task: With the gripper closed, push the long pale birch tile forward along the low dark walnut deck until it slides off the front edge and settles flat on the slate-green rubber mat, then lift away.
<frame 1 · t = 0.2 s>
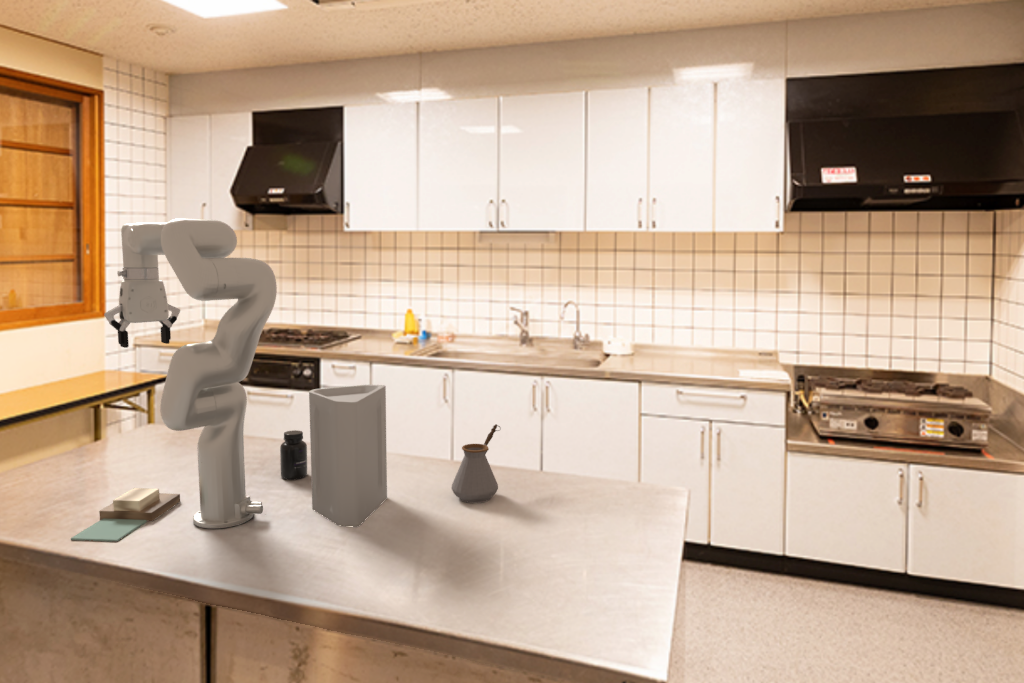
hand: (145, 345, 174), 36 cm above the kitchen island, tool pointing down, fingers open, 9 cm apart
supplement bottle: (294, 476, 189), on the kitchen island
grey triangular vase: (343, 509, 166), on the kitchen island
birch tile: (137, 504, 162), point 2 cm above the kitchen island, touching walnut deck
rubber mat: (110, 530, 152), on the kitchen island
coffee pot: (482, 492, 179), on the kitchen island
walnut deck: (141, 510, 164), on the kitchen island
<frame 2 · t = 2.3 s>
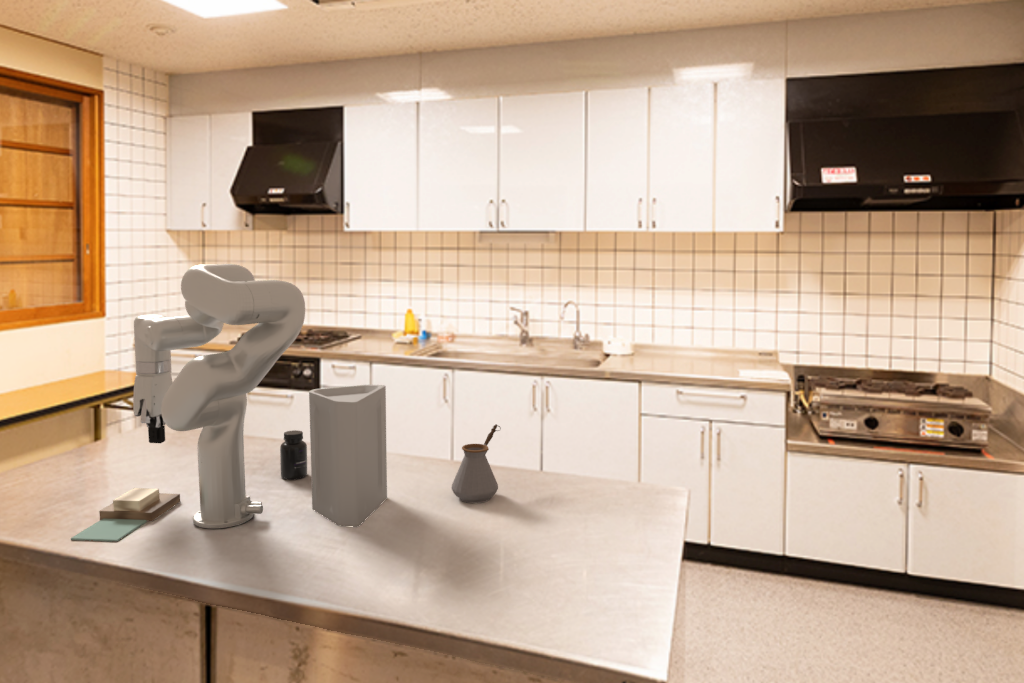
hand: (157, 442, 170), 14 cm above the kitchen island, tool pointing down, fingers closed
nothing on the kitchen island moved.
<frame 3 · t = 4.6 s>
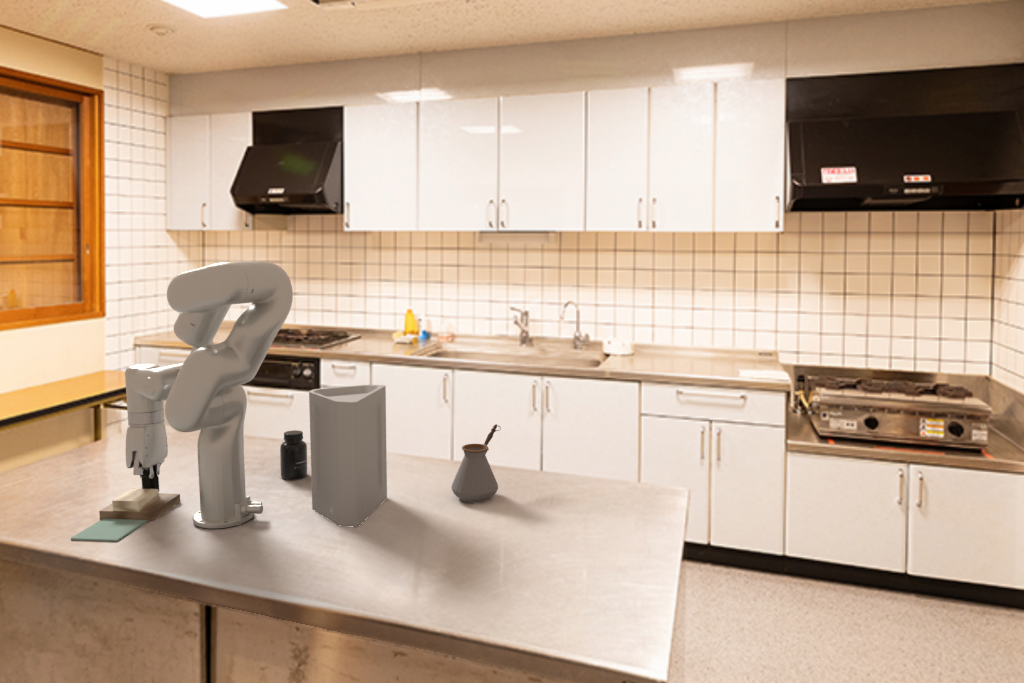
hand: (151, 492, 167), 3 cm above the kitchen island, tool pointing down, fingers closed
birch tile: (136, 504, 162), point 2 cm above the kitchen island, touching gripper
everything else where it was.
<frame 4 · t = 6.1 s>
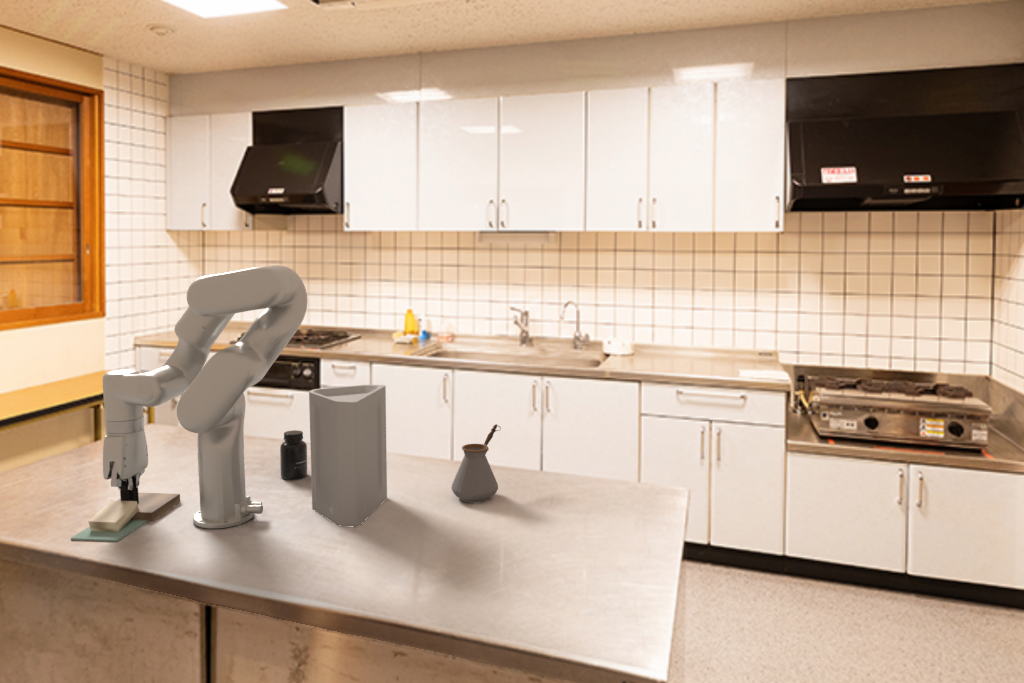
hand: (130, 505, 159), 3 cm above the kitchen island, tool pointing down, fingers closed
birch tile: (115, 520, 154), point 1 cm above the kitchen island, tilted 13°, touching gripper, rubber mat, walnut deck
everything else where it was.
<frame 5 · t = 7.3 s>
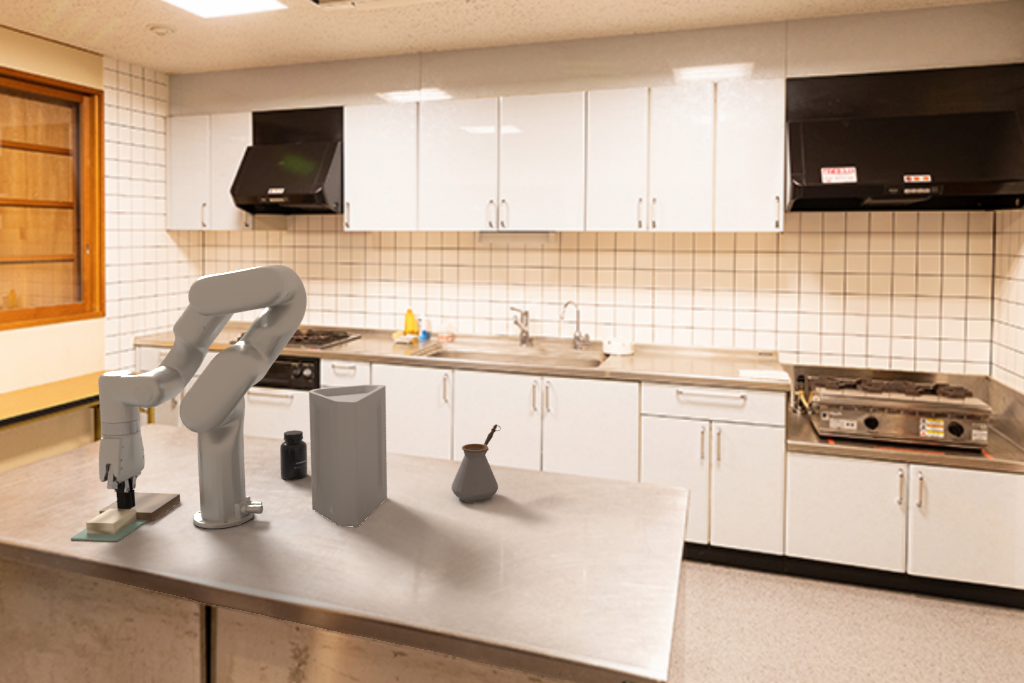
hand: (126, 507, 158), 3 cm above the kitchen island, tool pointing down, fingers closed
birch tile: (112, 526, 153), resting on rubber mat
everything else where it was.
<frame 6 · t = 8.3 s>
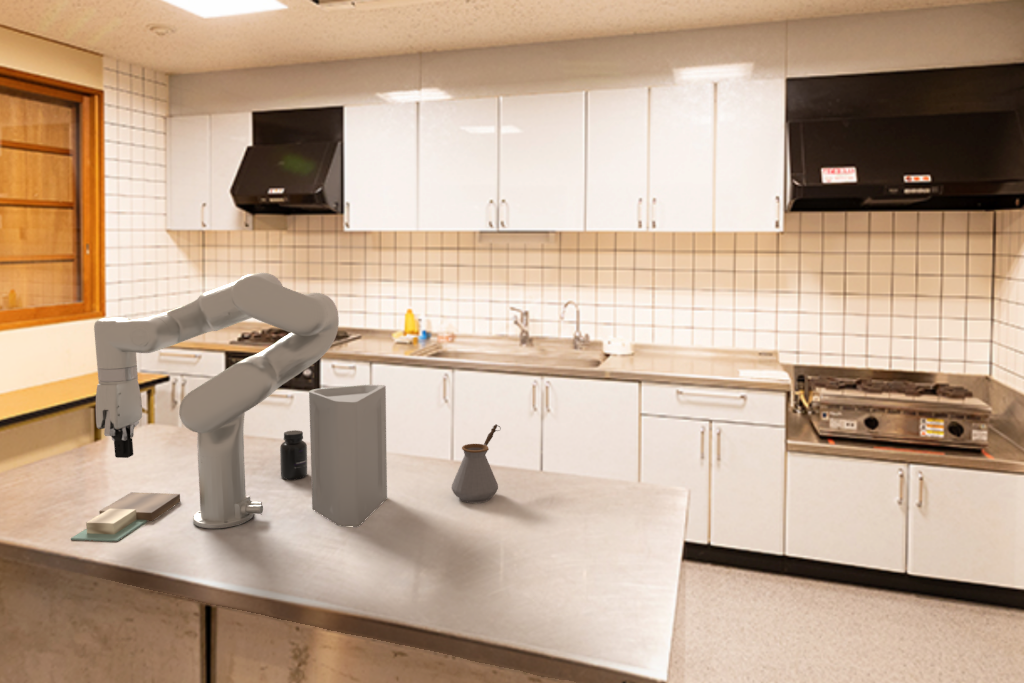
hand: (124, 456, 156), 15 cm above the kitchen island, tool pointing down, fingers closed
nothing on the kitchen island moved.
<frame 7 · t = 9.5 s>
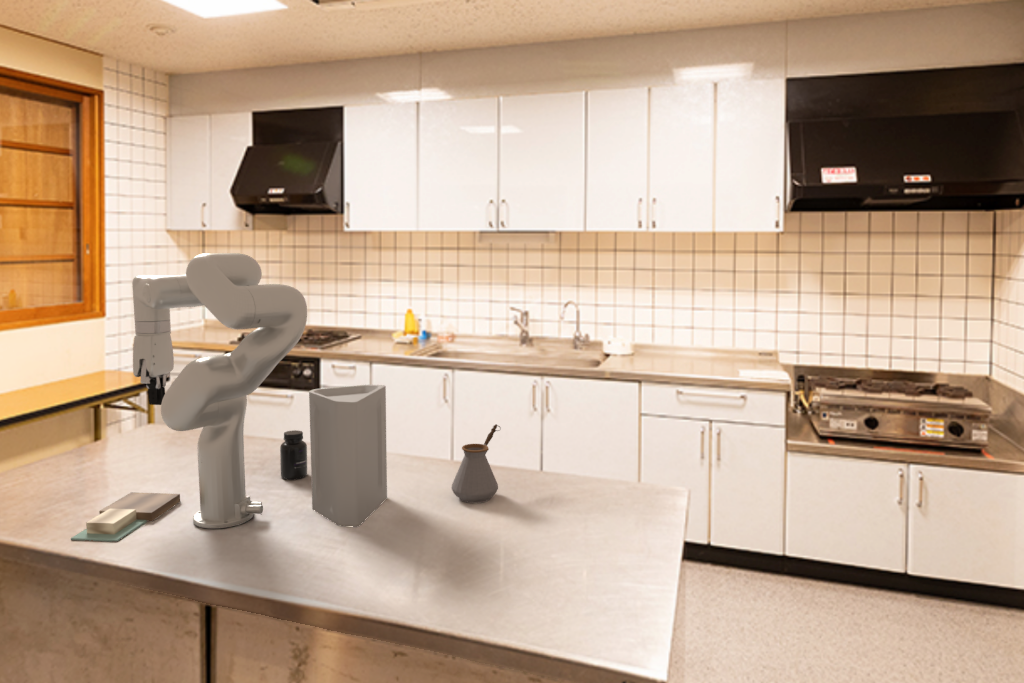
hand: (157, 403, 169), 23 cm above the kitchen island, tool pointing down, fingers closed
nothing on the kitchen island moved.
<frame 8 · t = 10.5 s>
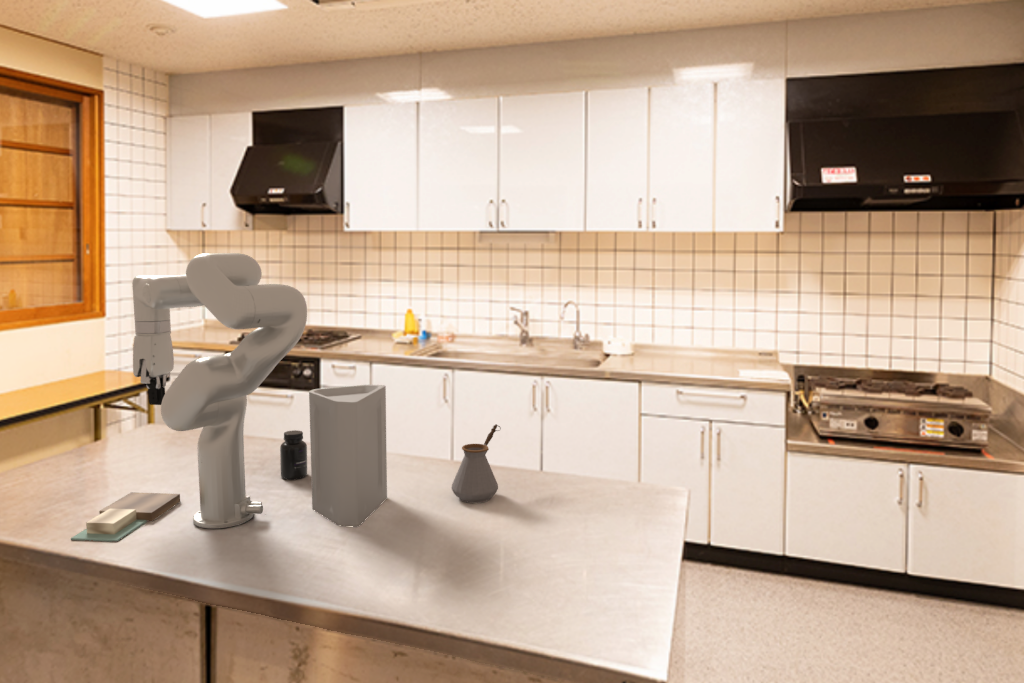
hand: (157, 403, 169), 23 cm above the kitchen island, tool pointing down, fingers closed
nothing on the kitchen island moved.
at the end: birch tile inside the target area (1.9 cm from its centre), resting on rubber mat; birch tile touching rubber mat; birch tile tilted 0° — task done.
